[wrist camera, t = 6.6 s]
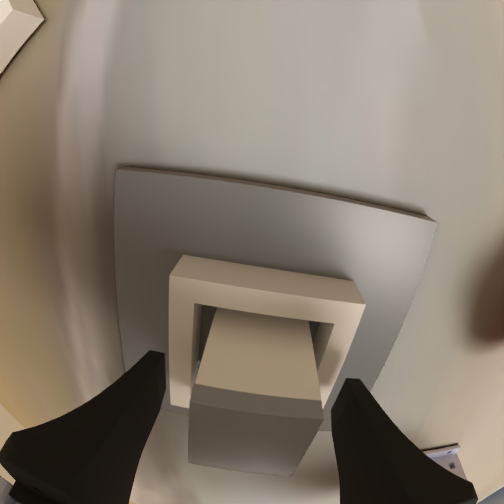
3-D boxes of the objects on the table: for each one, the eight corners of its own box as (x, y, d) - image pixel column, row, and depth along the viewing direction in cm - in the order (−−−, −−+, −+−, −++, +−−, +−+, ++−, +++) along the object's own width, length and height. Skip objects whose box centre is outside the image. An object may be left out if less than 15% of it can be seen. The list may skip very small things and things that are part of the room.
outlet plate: (428, 216, 13) (461, 238, 10) (344, 420, 18) (351, 455, 15) (125, 166, 13) (91, 177, 10) (135, 390, 18) (120, 423, 15)
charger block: (307, 314, 14) (324, 419, 8) (288, 376, 15) (291, 475, 10) (218, 300, 14) (189, 401, 8) (211, 365, 15) (188, 462, 10)
